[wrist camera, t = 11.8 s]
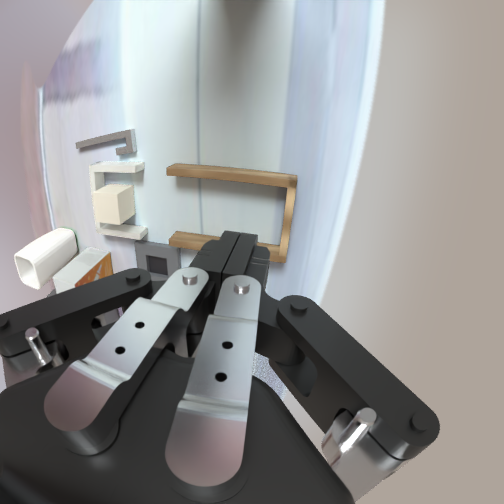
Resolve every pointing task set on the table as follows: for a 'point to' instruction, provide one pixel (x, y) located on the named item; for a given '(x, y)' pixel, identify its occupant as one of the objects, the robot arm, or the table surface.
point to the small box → (83, 269)
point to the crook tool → (123, 134)
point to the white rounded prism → (45, 257)
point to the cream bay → (99, 182)
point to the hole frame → (157, 259)
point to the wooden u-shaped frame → (238, 175)
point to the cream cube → (114, 203)
